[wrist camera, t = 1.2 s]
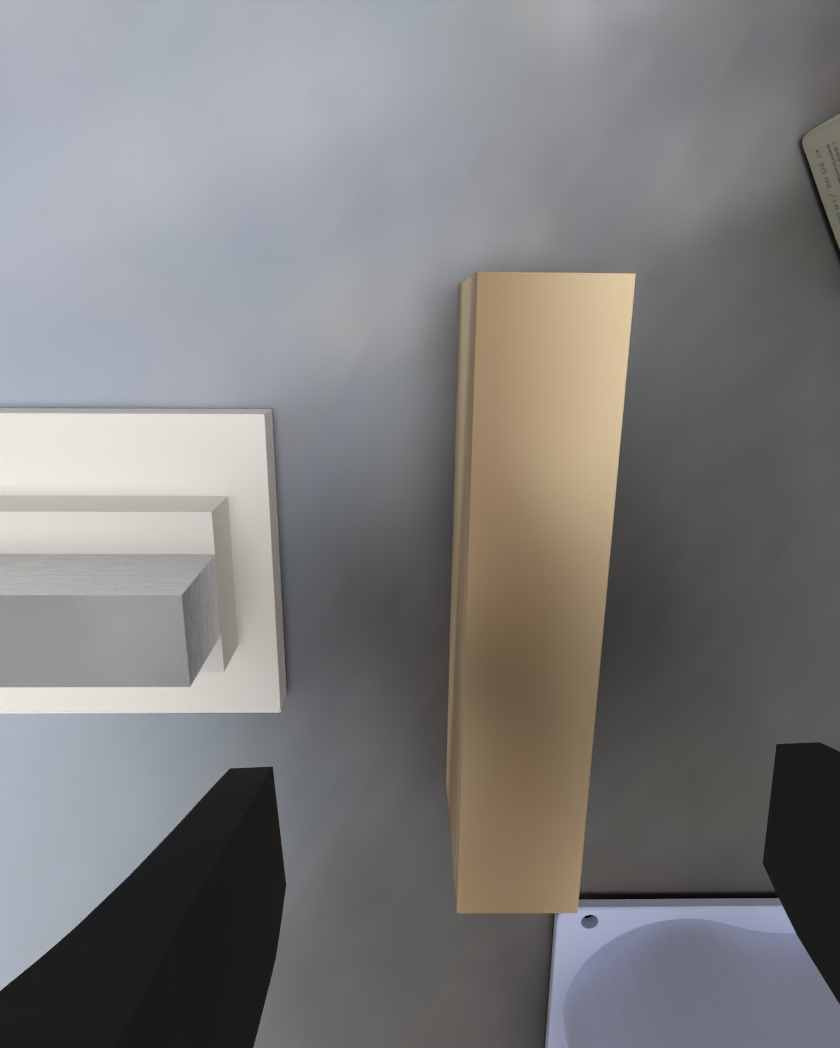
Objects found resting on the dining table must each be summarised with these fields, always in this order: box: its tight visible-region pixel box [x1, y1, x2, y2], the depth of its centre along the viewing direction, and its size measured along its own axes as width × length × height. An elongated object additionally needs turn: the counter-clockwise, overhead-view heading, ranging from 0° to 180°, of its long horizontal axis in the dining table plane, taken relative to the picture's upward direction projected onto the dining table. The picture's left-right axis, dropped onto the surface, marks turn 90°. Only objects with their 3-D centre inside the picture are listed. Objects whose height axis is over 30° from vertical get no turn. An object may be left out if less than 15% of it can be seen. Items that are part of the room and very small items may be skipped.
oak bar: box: [446, 272, 636, 913], centre depth 17 cm, size 3×14×5 cm, turn 179°
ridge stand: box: [0, 408, 287, 713], centre depth 16 cm, size 12×8×5 cm, turn 90°
